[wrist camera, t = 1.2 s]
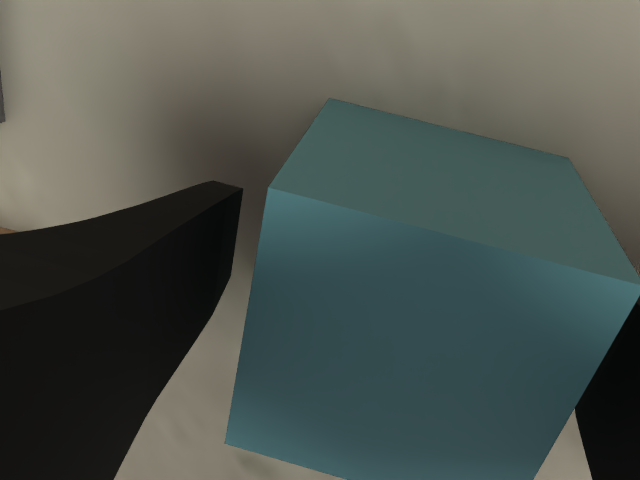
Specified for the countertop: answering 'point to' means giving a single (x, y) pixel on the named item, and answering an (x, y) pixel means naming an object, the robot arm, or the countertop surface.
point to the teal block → (423, 303)
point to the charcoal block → (1, 103)
